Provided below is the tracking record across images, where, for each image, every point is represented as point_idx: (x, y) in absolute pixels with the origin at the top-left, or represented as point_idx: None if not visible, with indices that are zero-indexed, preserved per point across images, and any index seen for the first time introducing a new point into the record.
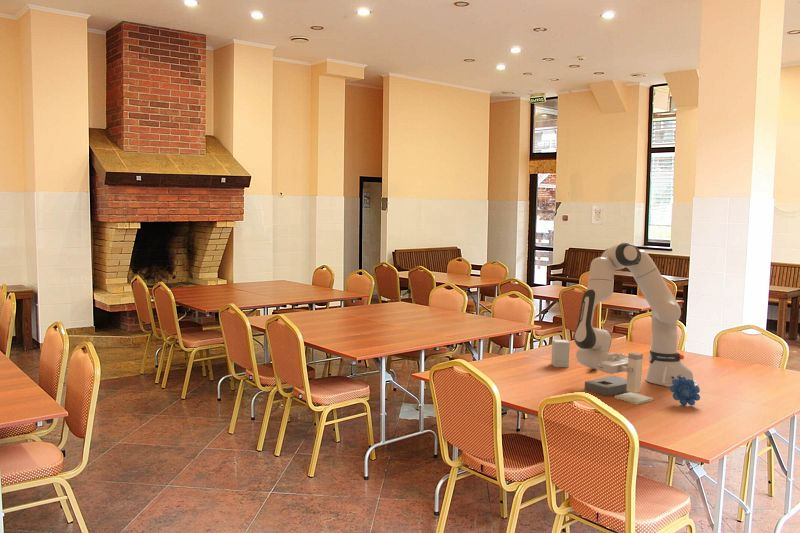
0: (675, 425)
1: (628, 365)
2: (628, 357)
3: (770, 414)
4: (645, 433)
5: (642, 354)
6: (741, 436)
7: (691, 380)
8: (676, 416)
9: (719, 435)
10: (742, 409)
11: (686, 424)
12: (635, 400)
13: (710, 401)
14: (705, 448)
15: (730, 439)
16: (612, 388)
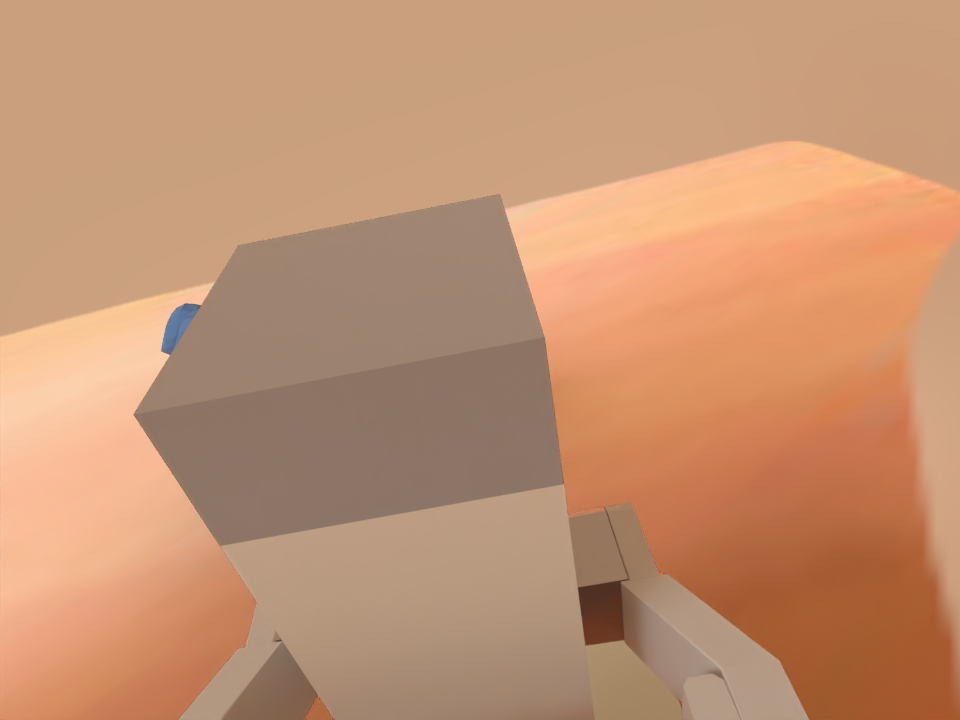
0: (682, 288)
1: (579, 612)
2: (559, 462)
3: (132, 317)
4: (935, 245)
5: (250, 246)
6: (513, 211)
7: (199, 305)
8: (557, 365)
9: (583, 218)
10: (125, 373)
11: (611, 290)
12: (619, 677)
13: (45, 506)
14: (742, 168)
15: (579, 200)
16: None
